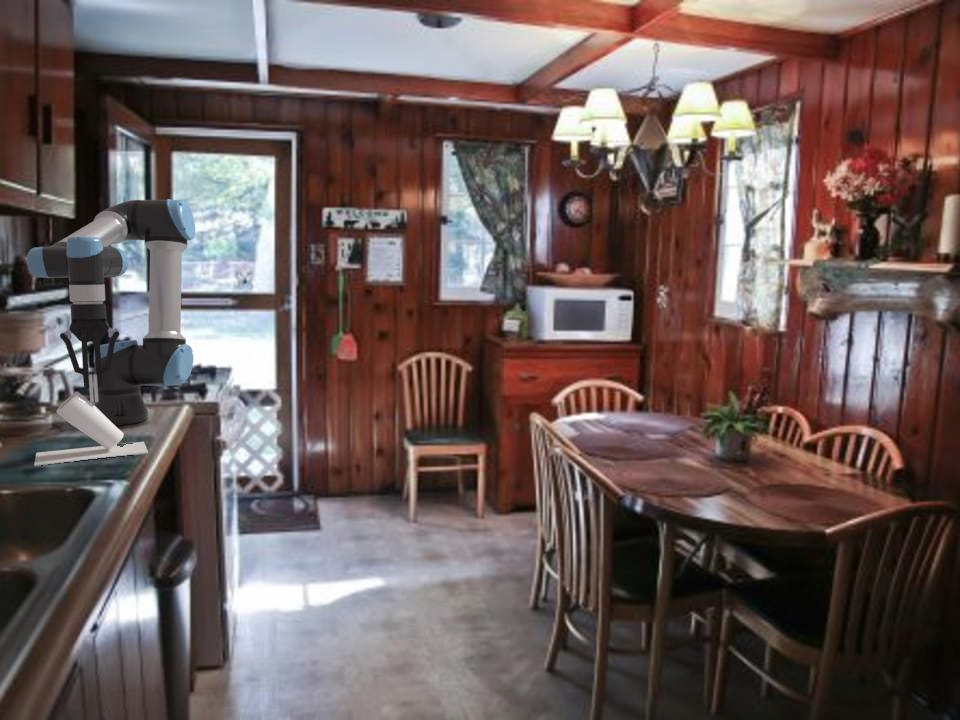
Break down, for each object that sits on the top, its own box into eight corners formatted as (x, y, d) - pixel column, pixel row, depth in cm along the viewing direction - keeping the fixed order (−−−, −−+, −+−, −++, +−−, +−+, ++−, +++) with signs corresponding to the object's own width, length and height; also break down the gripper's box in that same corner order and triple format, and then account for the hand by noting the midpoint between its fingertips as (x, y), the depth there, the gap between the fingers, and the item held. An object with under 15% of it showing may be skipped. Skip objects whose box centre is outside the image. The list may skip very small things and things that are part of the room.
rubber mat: (144, 443, 201) (143, 441, 201) (148, 453, 190) (148, 452, 190) (36, 454, 190) (36, 452, 190) (34, 466, 179) (34, 464, 179)
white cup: (127, 436, 190) (76, 394, 184) (105, 456, 189) (54, 415, 183) (127, 428, 196) (79, 388, 190) (106, 448, 195) (57, 408, 189)
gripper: (118, 301, 192) (123, 396, 195) (56, 303, 186) (63, 401, 189) (119, 302, 186) (125, 401, 188) (55, 304, 180) (62, 406, 182)
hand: (94, 401), depth 189 cm, fingers closed
